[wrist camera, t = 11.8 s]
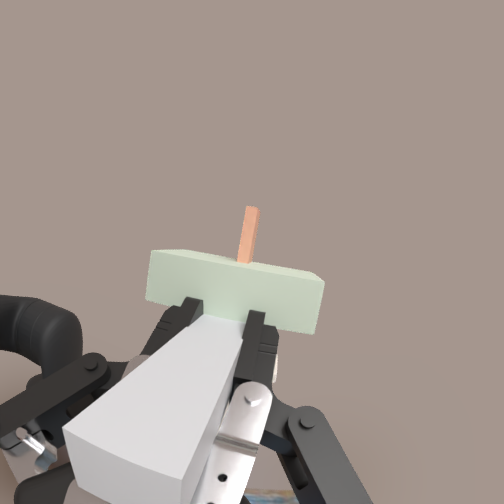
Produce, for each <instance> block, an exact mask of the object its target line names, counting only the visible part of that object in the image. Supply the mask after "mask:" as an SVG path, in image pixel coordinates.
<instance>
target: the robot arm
mask: <svg viewBox="0 0 504 504" xmlns="http://www.w3.org/2000/svg"><path fill="white" fill-rule="evenodd" d="M203 314H204V313H203V300H201V299H196V298H192V297H186V298H185V299H184V301H183V303H182V305H181V306H176V305H173V306H171V307H170V308H169V309H168V310H166V311H165V312H164V314H163V315H162V317H161V319H160V322H158V324H157V326H156V329H154V331H153V333H152V335H151V336H150V338H149V340H148V342H147V344H146V345H145V347H144V349H143V351H142V352H141V354H140V355H139V356H136V357H134V358H133V359H131V360H130V361H128V362H107V361H106V359H105V357H103V356H102V355H101V354H99V353H88V354H85V355H83V356H82V350H83V349H82V348H83V340H82V339H83V338H82V329H81V325H80V322H79V320H78V318H77V316H75V314H73V313H72V312H70V311H68V310H66V309H63V308H60V307H58V306H55V305H53V304H51V303H48V302H46V301H43V300H41V299H38V298H32V297H19V296H8V295H0V350H5V351H10V352H15V353H18V354H20V355H22V356H24V357H26V358H28V359H29V360H31V361H32V362H34V363H36V364H37V365H39V366H41V369H42V374H38V375H36V376H34V377H32V378H31V379H30V380H29V381H28V383H27V386H26V390H25V391H23V392H22V393H20V394H18V395H17V396H15V397H13V398H12V399H10V400H8V401H6V402H5V403H3V404H2V405H0V448H1V449H2V451H3V454H4V456H5V458H6V460H7V462H8V464H9V466H10V468H11V470H12V472H13V474H14V476H15V478H16V480H17V482H18V484H19V485H18V486H17V488H16V490H15V494H14V504H111V503H109V502H107V501H105V500H103V499H101V498H99V497H97V496H95V495H93V494H91V493H89V492H87V491H86V490H84V489H82V488H80V487H78V484H77V481H76V478H75V475H74V472H73V468H72V465H71V461H70V458H69V454H68V450H67V446H66V442H65V438H64V434H63V429H62V427H63V426H64V425H66V424H67V423H68V422H70V421H71V420H72V419H73V418H75V417H76V416H77V415H78V414H80V413H81V412H82V411H83V410H85V409H86V408H87V407H88V406H90V405H91V404H92V403H93V402H95V401H96V400H97V399H98V398H100V397H101V396H102V395H103V394H105V393H106V392H107V391H108V390H110V389H111V388H112V387H113V386H115V385H116V384H117V383H118V382H120V381H121V380H122V379H123V378H125V377H126V376H127V375H128V374H129V373H131V372H132V371H133V370H134V369H136V368H137V367H138V366H139V365H141V364H142V363H143V362H144V361H145V360H147V359H148V358H149V357H150V356H152V355H153V354H154V353H155V352H156V351H158V350H159V349H160V348H161V347H162V346H164V345H165V344H166V343H167V342H169V341H170V340H171V339H172V338H173V337H175V336H176V335H177V334H178V333H179V332H181V331H182V330H183V329H184V328H185V327H189V326H190V325H191V324H192V323H194V322H195V321H196V320H197V319H198V318H199V317H201V316H202V315H203ZM265 315H266V312H261V311H256V310H249V313H248V317H247V320H246V324H245V328H244V331H243V335H242V339H243V342H242V346H241V350H240V354H239V357H238V361H237V365H236V368H235V372H234V376H233V385H232V393H231V396H230V399H229V407H228V410H227V412H226V415H225V417H224V420H223V422H222V424H221V427H220V429H219V432H218V434H217V436H216V437H215V439H214V441H213V444H212V448H211V451H210V453H209V456H208V458H207V461H206V464H205V466H204V469H203V472H202V474H201V477H200V479H199V482H198V485H197V487H196V490H195V492H194V495H193V497H192V500H191V502H190V504H251V503H250V502H249V501H248V499H247V498H246V497H245V496H244V495H243V492H244V489H245V487H246V484H247V480H248V478H249V475H250V472H251V469H252V466H253V463H254V460H255V457H256V454H257V450H258V446H259V444H261V445H264V446H266V447H268V448H270V449H272V450H274V451H276V453H277V455H278V457H279V460H280V462H281V464H282V466H283V469H284V471H285V473H286V475H287V478H288V480H289V482H290V484H291V486H292V488H293V491H294V493H295V495H296V497H297V499H298V501H299V503H300V504H373V502H372V501H371V499H370V497H369V495H368V494H367V492H366V490H365V488H364V486H363V485H362V483H361V481H360V479H359V478H358V476H357V474H356V472H355V471H354V469H353V467H352V465H351V463H350V462H349V460H348V458H347V456H346V454H345V452H344V451H343V449H342V447H341V445H340V443H339V442H338V440H337V438H336V436H335V434H334V432H333V431H332V429H331V427H330V425H329V423H328V421H327V420H326V418H325V416H324V414H323V413H322V412H321V411H320V410H318V409H316V408H314V407H311V406H302V407H298V408H296V409H295V408H293V407H291V406H289V405H286V404H284V403H282V402H281V401H280V400H278V399H277V398H276V396H275V395H274V393H273V391H272V379H273V373H274V367H275V360H276V354H277V346H278V340H279V334H278V332H277V329H276V326H271V325H266V324H264V320H265ZM47 470H48V471H47Z"/></svg>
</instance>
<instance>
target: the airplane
mask: <svg viewBox="0 0 504 504" xmlns="http://www.w3.org/2000/svg"><path fill="white" fill-rule="evenodd" d="M259 217H260V211H259V209H258V208H256V207H250V206H247V207H246V212H245V218H244V224H243V230H242V235H241V241H240V246H239V252H238V258H237V259H234V258H228V257H223V256H217V255H212V254H207V253H202V252H196V251H190V250H152V251H151V258H150V265H149V272H148V280H147V289H146V299H145V300H148V301H152V302H156V303H160V304H164V305H168V306H173V305H176V306H181V305H182V303H183V301H184V299H185V298H186V297H192V298H196V299H201V300H203V313H204V314H203V315H202V316H201V317H199V318H198V319H197V320H196V321H195V322H194V323H192V324H191V325H190V326H189V327H185V328H184V329H183V330H182V331H181V332H179V333H178V334H177V335H176V336H175V337H173V338H172V339H171V340H170V341H169V342H167V343H166V344H165V345H164V346H162V347H161V348H160V349H159V350H158V351H156V352H155V353H154V354H153V355H152V356H150V357H149V358H148V359H147V360H145V361H144V362H143V363H142V364H141V365H139V366H138V367H137V368H136V369H134V370H133V371H132V372H131V373H129V374H128V375H127V376H126V377H125V378H123V379H122V380H121V381H120V382H118V383H117V384H116V385H115V386H113V387H112V388H111V389H110V390H108V391H107V392H106V393H105V394H103V395H102V396H101V397H100V398H98V399H97V400H96V401H95V402H93V403H92V404H91V405H90V406H88V407H87V408H86V409H85V410H83V411H82V412H81V413H80V414H78V415H77V416H76V417H75V418H73V419H72V420H71V421H70V422H68V423H67V424H66V425H64V426H63V427H62V429H63V434H64V438H65V442H66V446H67V450H68V454H69V458H70V461H71V465H72V468H73V472H74V475H75V478H76V481H77V484H78V487H80V488H82V489H84V490H86V491H87V492H89V493H91V494H93V495H95V496H97V497H99V498H101V499H103V500H105V501H107V502H109V503H111V504H190V502H191V500H192V497H193V495H194V492H195V490H196V487H197V485H198V482H199V479H200V477H201V474H202V472H203V469H204V466H205V464H206V461H207V458H208V456H209V453H210V451H211V448H212V444H213V441H214V439H215V437H216V434H217V432H218V429H219V426H220V424H221V421H222V418H223V415H224V413H225V410H226V407H227V404H228V401H229V399H230V396H231V393H232V385H233V376H234V372H235V368H236V365H237V361H238V357H239V354H240V350H241V346H242V342H243V339H242V335H243V331H244V328H245V324H246V320H247V317H248V313H249V310H256V311H261V312H266V315H265V320H264V324H266V325H271V326H276V329H283V330H288V331H294V332H300V333H306V334H313V335H314V332H315V327H316V323H317V318H318V314H319V309H320V304H321V300H322V295H323V290H324V285H325V282H324V281H323V280H321V279H320V278H319V277H318V276H316V275H315V274H314V273H313V272H307V271H301V270H296V269H290V268H284V267H279V266H273V265H268V264H262V263H257V262H252V258H253V251H254V246H255V240H256V234H257V229H258V223H259Z"/></svg>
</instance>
